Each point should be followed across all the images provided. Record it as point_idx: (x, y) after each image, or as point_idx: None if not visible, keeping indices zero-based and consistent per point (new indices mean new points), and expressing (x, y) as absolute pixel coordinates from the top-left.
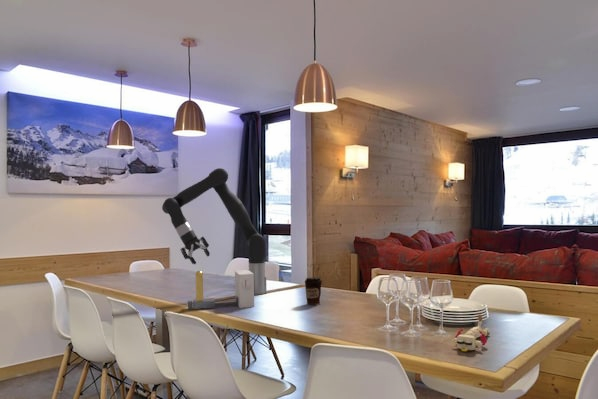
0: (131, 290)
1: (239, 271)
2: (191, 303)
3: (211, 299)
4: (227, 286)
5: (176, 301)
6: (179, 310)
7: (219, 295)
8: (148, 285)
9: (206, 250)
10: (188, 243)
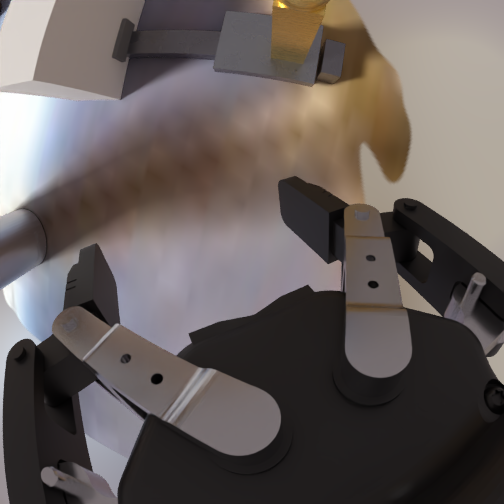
0: None
1: (25, 50)
2: (330, 42)
3: (231, 42)
4: (107, 404)
5: (337, 260)
6: (370, 69)
7: (143, 283)
8: None
9: (82, 290)
10: (462, 407)
